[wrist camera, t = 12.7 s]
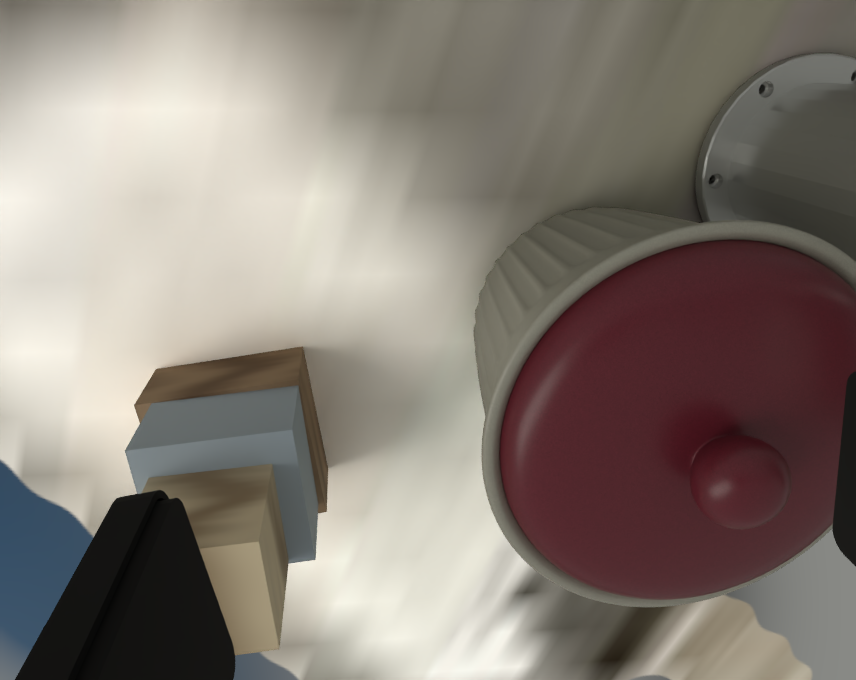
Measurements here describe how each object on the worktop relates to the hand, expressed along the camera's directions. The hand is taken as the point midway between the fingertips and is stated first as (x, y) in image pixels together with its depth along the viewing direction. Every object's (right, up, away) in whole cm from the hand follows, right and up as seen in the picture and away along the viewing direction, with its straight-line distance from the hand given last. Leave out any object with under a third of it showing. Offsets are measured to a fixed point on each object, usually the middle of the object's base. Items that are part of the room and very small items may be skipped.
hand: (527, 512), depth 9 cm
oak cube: (-12, -7, +25) cm, 29 cm away
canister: (+8, +5, +34) cm, 35 cm away
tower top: (-12, -4, +30) cm, 32 cm away
